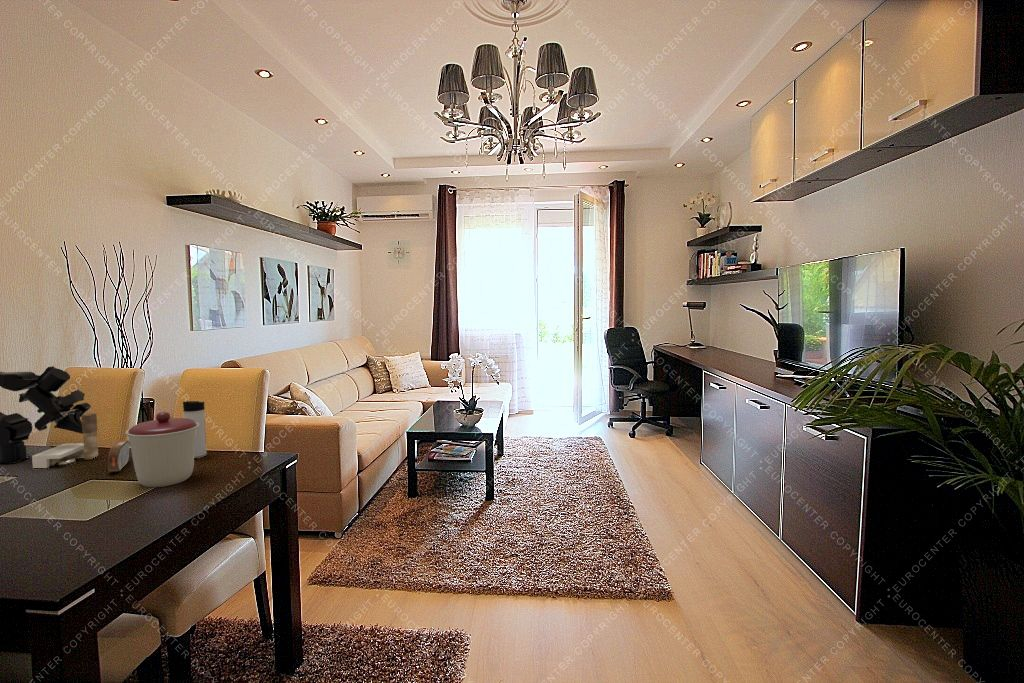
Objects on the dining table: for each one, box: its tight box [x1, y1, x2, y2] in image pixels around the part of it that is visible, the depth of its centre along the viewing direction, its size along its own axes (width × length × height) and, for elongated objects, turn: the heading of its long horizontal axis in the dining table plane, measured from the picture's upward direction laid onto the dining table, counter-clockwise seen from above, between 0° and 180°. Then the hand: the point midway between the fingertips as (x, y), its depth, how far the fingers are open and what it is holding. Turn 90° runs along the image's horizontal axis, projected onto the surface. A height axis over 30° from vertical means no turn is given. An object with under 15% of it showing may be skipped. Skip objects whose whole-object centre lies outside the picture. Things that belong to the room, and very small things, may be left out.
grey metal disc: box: [57, 458, 76, 465], centre depth 166 cm, size 4×4×1 cm
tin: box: [107, 439, 131, 473], centre depth 162 cm, size 15×3×8 cm, turn 25°
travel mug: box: [182, 400, 208, 458], centre depth 173 cm, size 6×7×20 cm
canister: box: [124, 411, 199, 488], centre depth 150 cm, size 18×18×21 cm
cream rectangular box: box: [31, 442, 84, 469], centre depth 168 cm, size 8×14×4 cm, turn 8°
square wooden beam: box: [49, 413, 99, 466], centre depth 168 cm, size 9×9×15 cm
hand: (84, 432), depth 170 cm, fingers closed, pressing on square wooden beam
